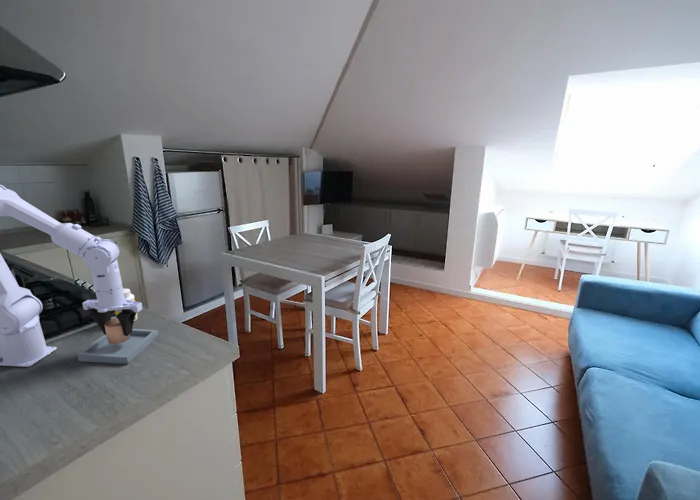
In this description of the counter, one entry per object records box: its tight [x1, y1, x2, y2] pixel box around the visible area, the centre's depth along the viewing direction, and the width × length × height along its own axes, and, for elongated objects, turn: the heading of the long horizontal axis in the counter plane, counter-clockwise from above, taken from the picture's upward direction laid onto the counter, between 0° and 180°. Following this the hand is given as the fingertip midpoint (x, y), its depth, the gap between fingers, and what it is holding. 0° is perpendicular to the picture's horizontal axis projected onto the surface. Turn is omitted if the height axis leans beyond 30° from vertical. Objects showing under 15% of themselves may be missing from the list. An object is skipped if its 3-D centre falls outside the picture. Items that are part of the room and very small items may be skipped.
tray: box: [76, 328, 159, 365], centre depth 89 cm, size 13×13×2 cm
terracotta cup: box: [104, 318, 130, 344], centre depth 89 cm, size 5×6×5 cm
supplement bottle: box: [115, 288, 139, 322], centre depth 102 cm, size 6×6×10 cm
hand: (118, 333), depth 88 cm, fingers closed on terracotta cup, 5 cm apart
